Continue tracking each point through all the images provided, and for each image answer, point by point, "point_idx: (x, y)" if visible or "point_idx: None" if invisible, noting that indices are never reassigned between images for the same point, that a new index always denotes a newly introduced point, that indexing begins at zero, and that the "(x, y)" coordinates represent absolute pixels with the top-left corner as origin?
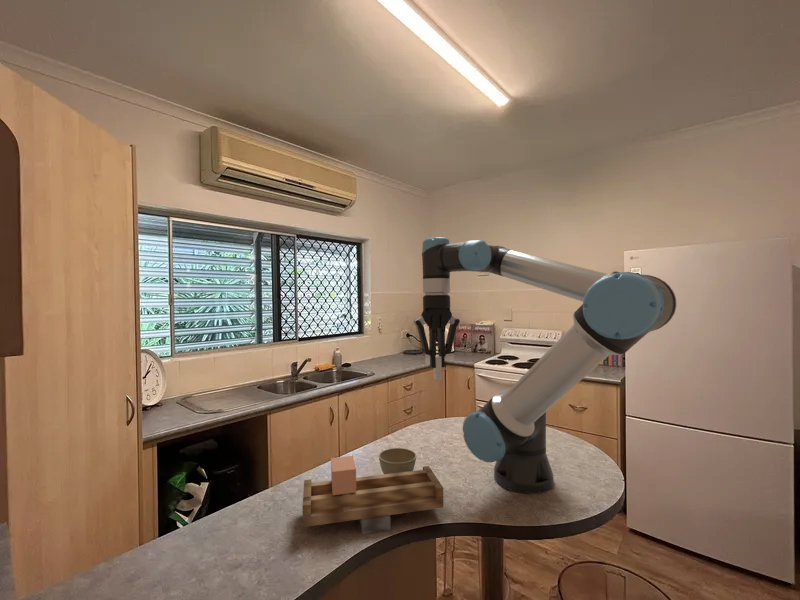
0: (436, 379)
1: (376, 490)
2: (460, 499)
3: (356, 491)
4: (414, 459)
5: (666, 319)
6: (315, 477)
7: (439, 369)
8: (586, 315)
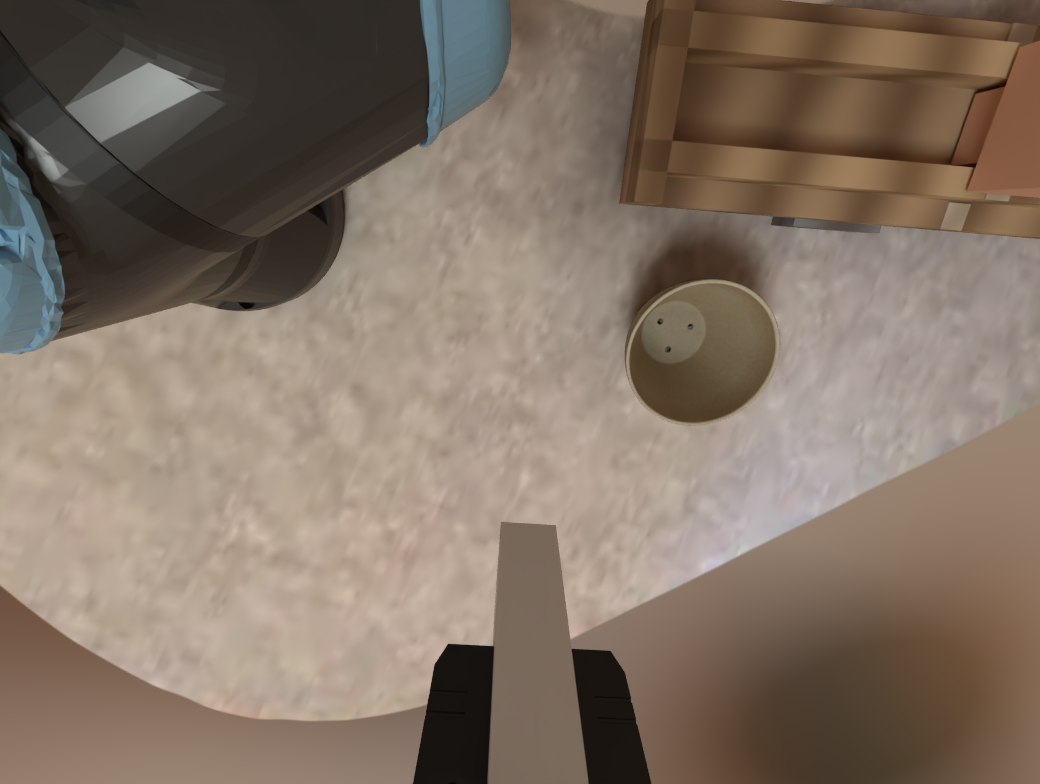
0: (556, 532)
1: (931, 48)
2: (520, 143)
3: (1004, 69)
4: (650, 304)
5: None
6: (899, 437)
7: (523, 609)
8: None
